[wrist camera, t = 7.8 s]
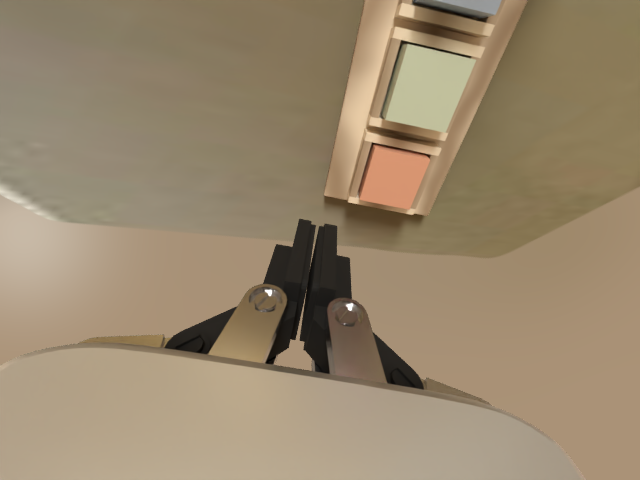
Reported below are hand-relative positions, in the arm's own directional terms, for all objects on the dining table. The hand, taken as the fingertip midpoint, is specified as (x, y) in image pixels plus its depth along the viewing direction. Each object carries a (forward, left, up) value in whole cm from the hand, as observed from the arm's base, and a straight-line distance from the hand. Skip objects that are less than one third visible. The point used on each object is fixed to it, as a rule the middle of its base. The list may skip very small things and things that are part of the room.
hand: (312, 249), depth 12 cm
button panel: (-8, -6, -25) cm, 27 cm away
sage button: (-8, -6, -22) cm, 24 cm away
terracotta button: (-8, +3, -22) cm, 24 cm away
